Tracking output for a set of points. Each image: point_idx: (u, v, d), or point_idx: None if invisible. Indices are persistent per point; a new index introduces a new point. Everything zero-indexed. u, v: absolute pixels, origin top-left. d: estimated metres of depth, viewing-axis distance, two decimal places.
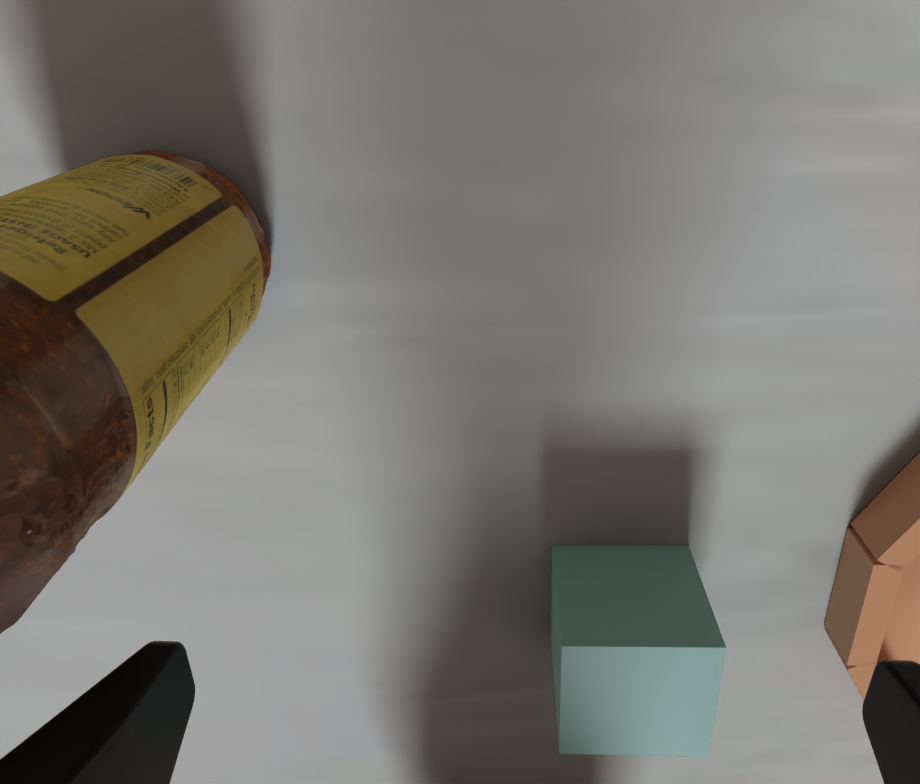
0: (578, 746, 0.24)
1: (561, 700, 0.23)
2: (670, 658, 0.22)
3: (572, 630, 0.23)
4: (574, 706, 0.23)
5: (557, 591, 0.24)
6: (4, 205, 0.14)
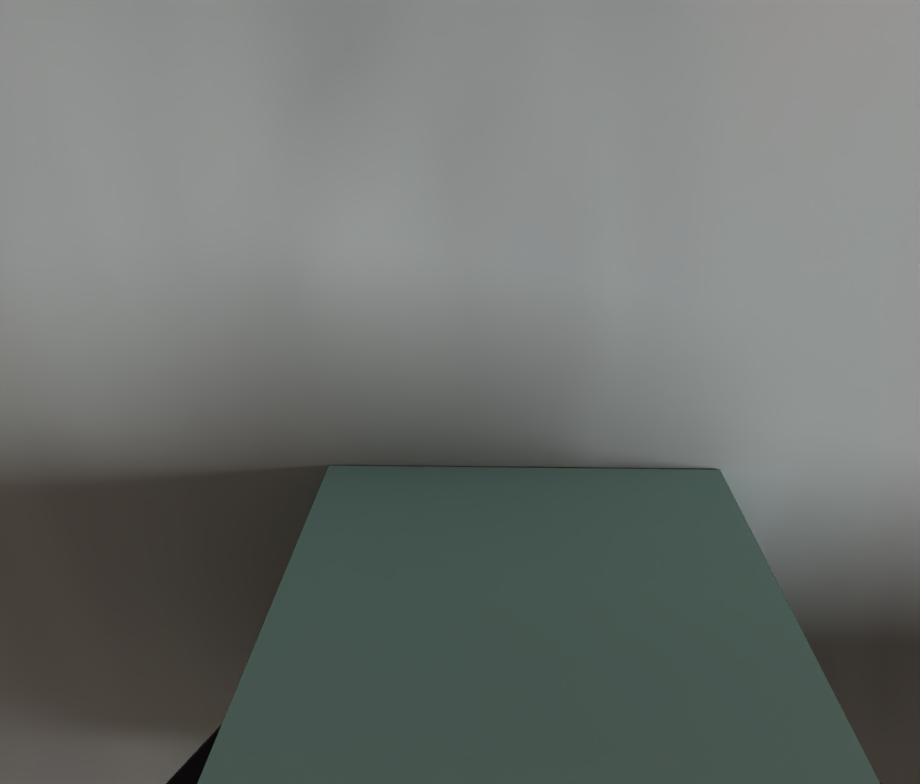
0: None
1: None
2: None
3: None
4: None
5: None
6: None
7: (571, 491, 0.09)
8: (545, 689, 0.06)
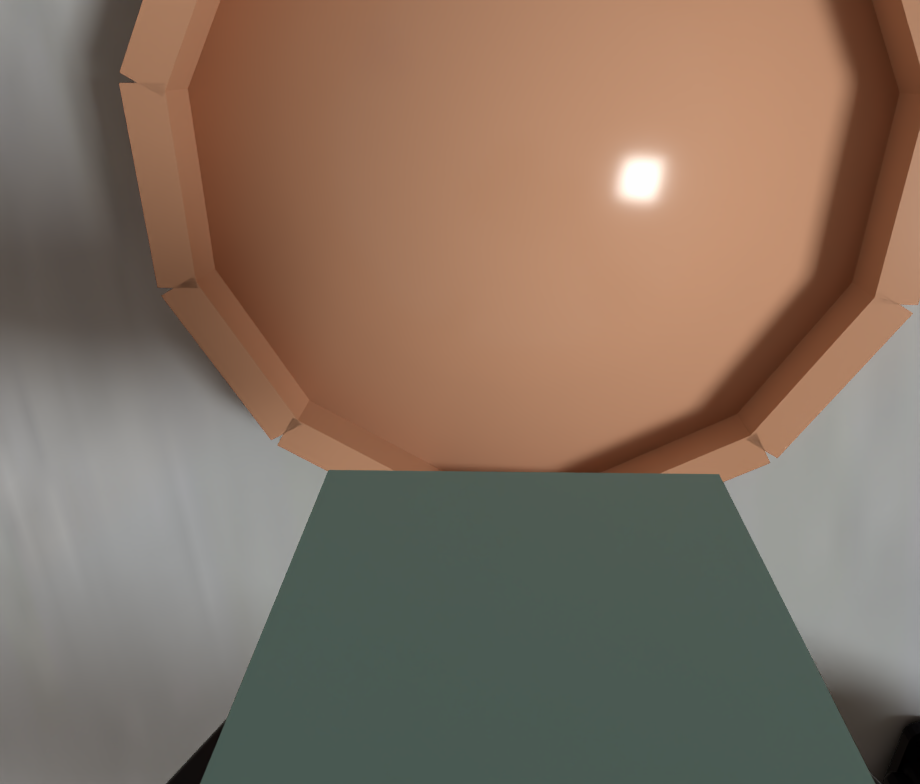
0: None
1: None
2: None
3: None
4: None
5: None
6: None
7: (571, 496, 0.09)
8: (545, 695, 0.06)
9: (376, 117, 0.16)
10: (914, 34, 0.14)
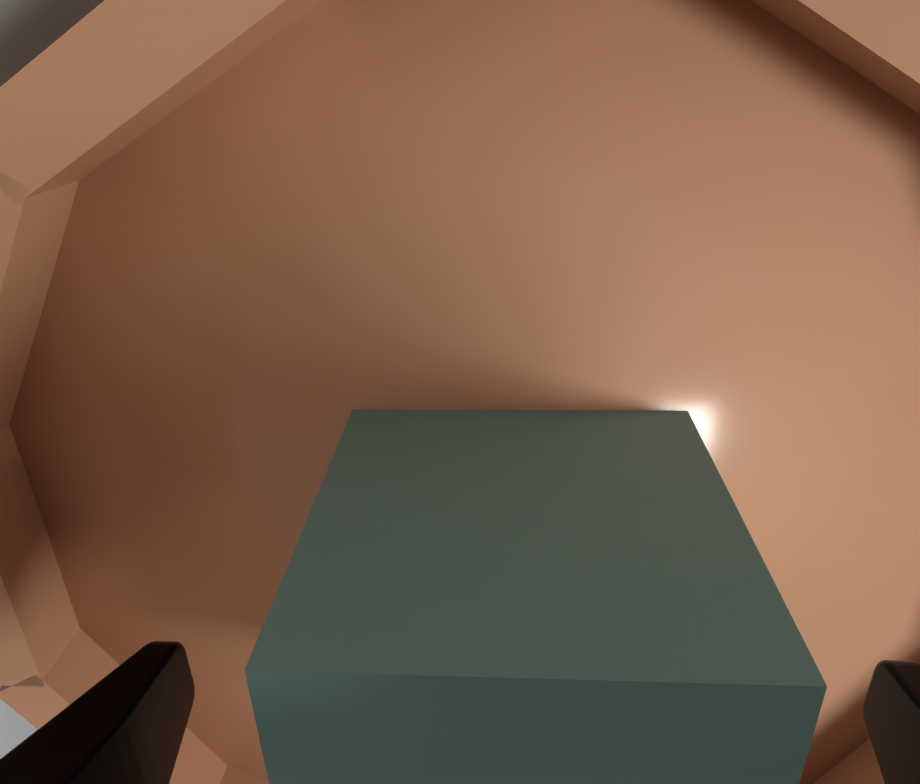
0: None
1: None
2: None
3: None
4: None
5: None
6: None
7: (560, 427, 0.10)
8: (535, 562, 0.07)
9: (288, 459, 0.11)
10: None
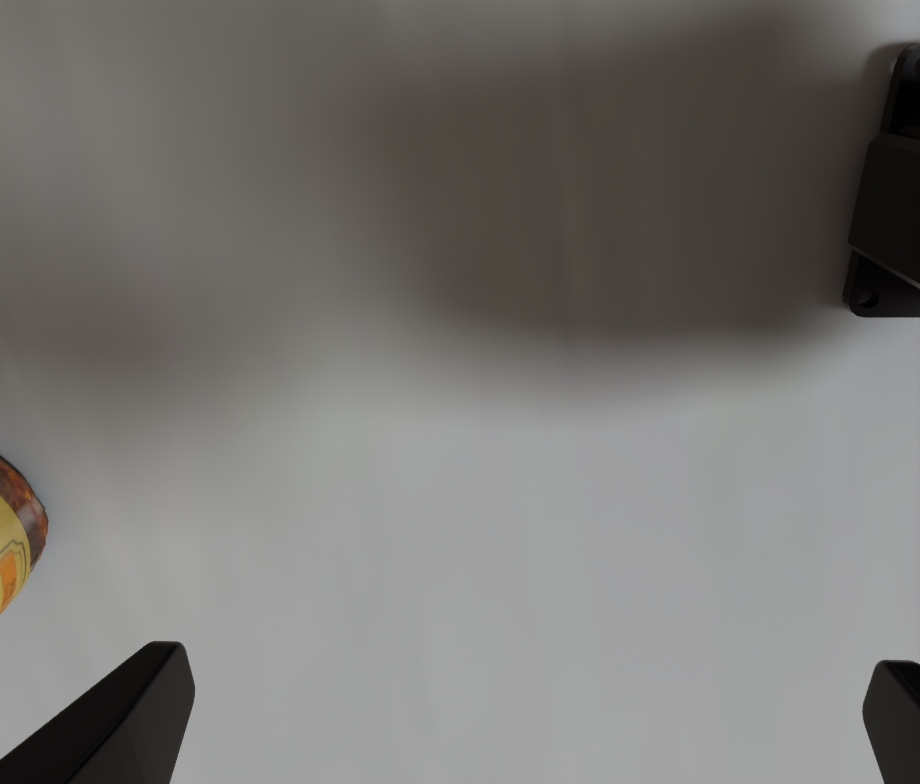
0: None
1: None
2: None
3: None
4: None
5: None
6: None
7: None
8: None
9: None
10: None
